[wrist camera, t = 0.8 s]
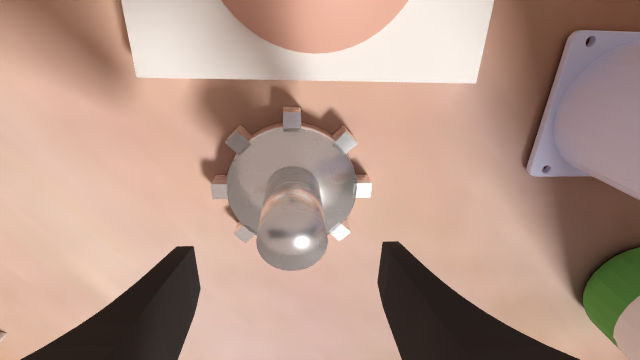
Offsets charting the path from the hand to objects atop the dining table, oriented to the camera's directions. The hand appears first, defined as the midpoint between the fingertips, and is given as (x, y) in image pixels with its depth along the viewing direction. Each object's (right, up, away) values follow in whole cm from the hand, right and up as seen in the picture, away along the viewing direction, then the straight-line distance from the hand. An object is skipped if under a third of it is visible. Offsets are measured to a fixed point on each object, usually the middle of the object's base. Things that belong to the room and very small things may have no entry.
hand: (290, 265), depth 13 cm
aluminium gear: (0, +3, +7) cm, 7 cm away
